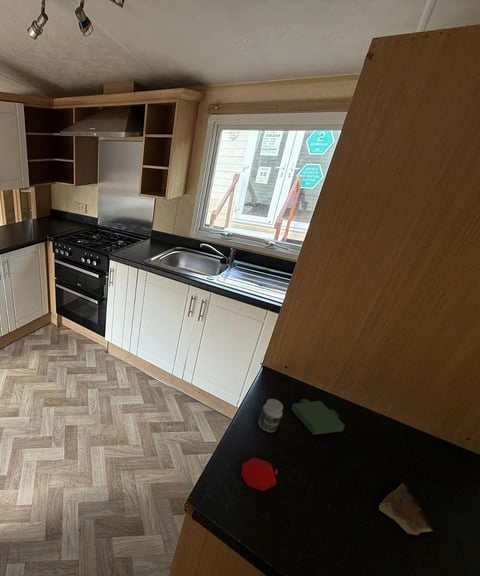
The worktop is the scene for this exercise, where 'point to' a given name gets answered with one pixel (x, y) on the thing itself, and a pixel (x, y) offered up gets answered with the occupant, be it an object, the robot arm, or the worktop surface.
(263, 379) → the worktop surface
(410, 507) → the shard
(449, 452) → the worktop surface
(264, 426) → the pill bottle
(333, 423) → the rubber pad
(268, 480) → the apple
